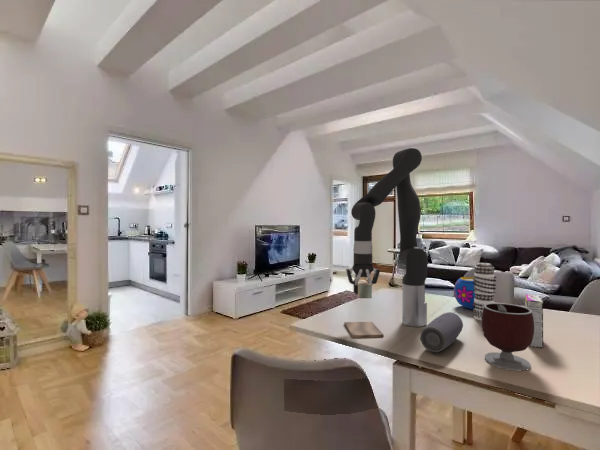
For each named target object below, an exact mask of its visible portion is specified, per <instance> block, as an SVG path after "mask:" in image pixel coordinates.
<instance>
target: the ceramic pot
mask: <svg viewBox="0 0 600 450" xmlns="http://www.w3.org/2000/svg"><path fill="white" fill-rule="evenodd" d="M474 278H475V277H474V276H461V277H460V278H458V279H457V280H456V282H455V284H454V287H453V297H454V298H455V300H456V302H457V303H458V305H460V306H462V307H463V308H466V309H470V310H474V309H475V308H474V305H475V304H474V302H475V301H474V298H475V293H474V291H473V290H474V288H473V287H474V286H475V285H474V284H473V282H474V281H473V279H474Z"/></svg>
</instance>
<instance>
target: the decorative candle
mask: <svg viewBox="0 0 600 450" xmlns="http://www.w3.org/2000/svg"><path fill="white" fill-rule="evenodd" d="M473 277H475V278H474V279H473V281H474V282H473V284H474V285H475V286H474V287H473V288H474V290H473V291H474V293H475V298H474V301H475V302H474V304H475V305H474V308H475V309H473V318H474V319H475V320H478V321H482V313H483V309H484V305H485V304H488V303H495V294H496V292H495V291H494V290H497V288H496V284H495V282H497V280H496V279H497V276H496V275H495V267H494V266H493V265H492V263H488V262H477V263H476V264H475V265H474V276H473Z"/></svg>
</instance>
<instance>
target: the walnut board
mask: <svg viewBox="0 0 600 450" xmlns="http://www.w3.org/2000/svg"><path fill="white" fill-rule="evenodd" d="M343 325H344V326H345V328H346V329H347V332H348V333H349V334H350V336H351V337H352V338H351V339H355V338H356V339H357V338H358V339H359V338H361V339H362V338H365V339H366V338H384V333H383V332H382V331H381V330H380V329H379V328H378V327H377V325H376V324H375V323H374V322H373V321H345V322H344V324H343Z"/></svg>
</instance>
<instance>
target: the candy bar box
mask: <svg viewBox="0 0 600 450" xmlns="http://www.w3.org/2000/svg"><path fill="white" fill-rule="evenodd" d="M524 301H525V302H524V307H526V308H528V309H530V310H532V315H533V319H534V336H533V340H532V343H531V345H530V346H529V347H532V346H536V347H535V348H539V347H542V348H541V349H544V301H543V298H542V297H541V295H537V294H526V293H525V296H524Z"/></svg>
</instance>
